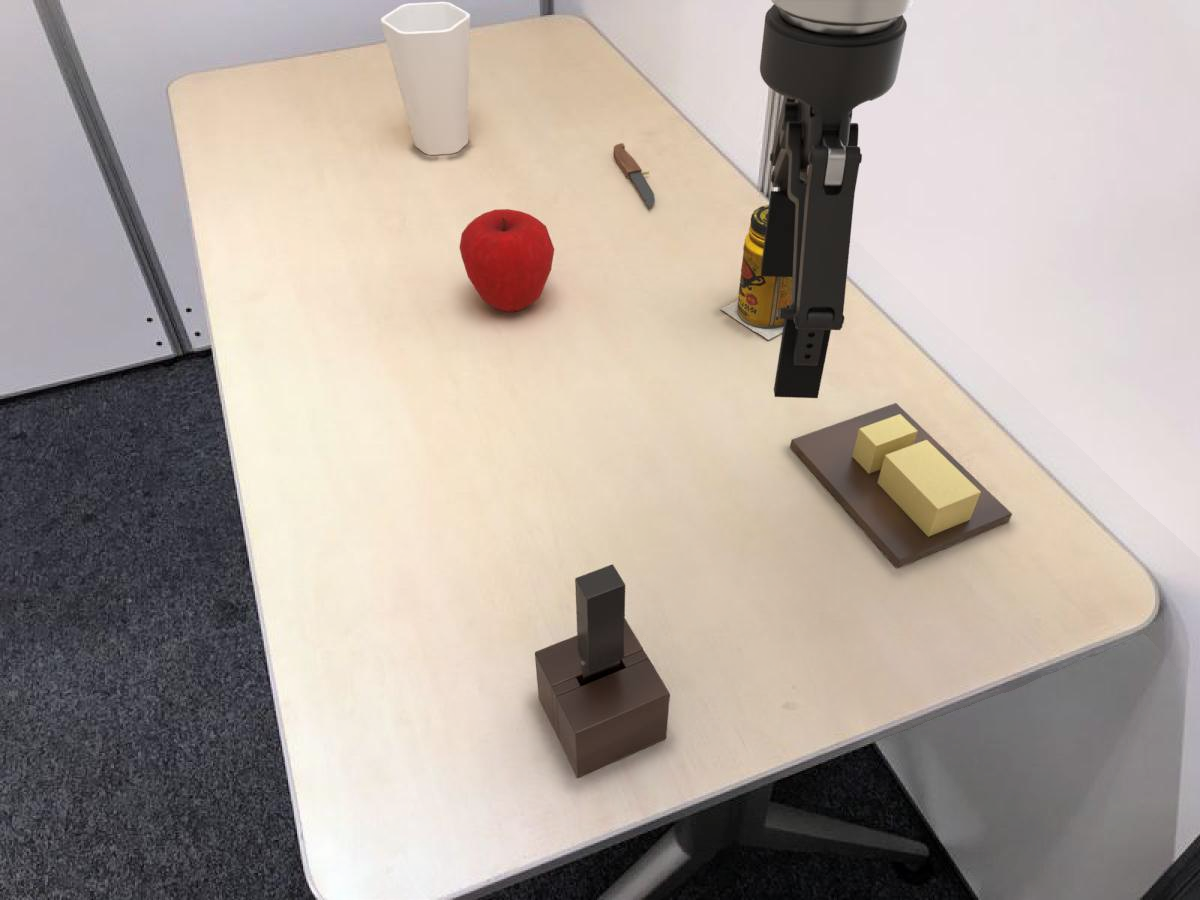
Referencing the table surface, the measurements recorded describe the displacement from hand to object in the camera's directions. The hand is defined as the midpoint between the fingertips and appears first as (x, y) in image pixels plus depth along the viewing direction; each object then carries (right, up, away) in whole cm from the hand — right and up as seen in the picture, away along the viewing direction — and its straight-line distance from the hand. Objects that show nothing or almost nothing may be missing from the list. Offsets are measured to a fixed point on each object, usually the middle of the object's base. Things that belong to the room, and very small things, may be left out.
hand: (786, 330), depth 66 cm
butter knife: (-13, -28, +4) cm, 31 cm away
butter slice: (+13, -9, +22) cm, 26 cm away
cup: (-35, +34, +68) cm, 84 cm away
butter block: (+15, -13, +18) cm, 27 cm away
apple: (-23, +8, +41) cm, 48 cm away
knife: (-8, +27, +60) cm, 66 cm away
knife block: (-13, -28, +4) cm, 31 cm away
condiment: (+6, +7, +40) cm, 40 cm away
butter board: (+14, -11, +21) cm, 27 cm away
